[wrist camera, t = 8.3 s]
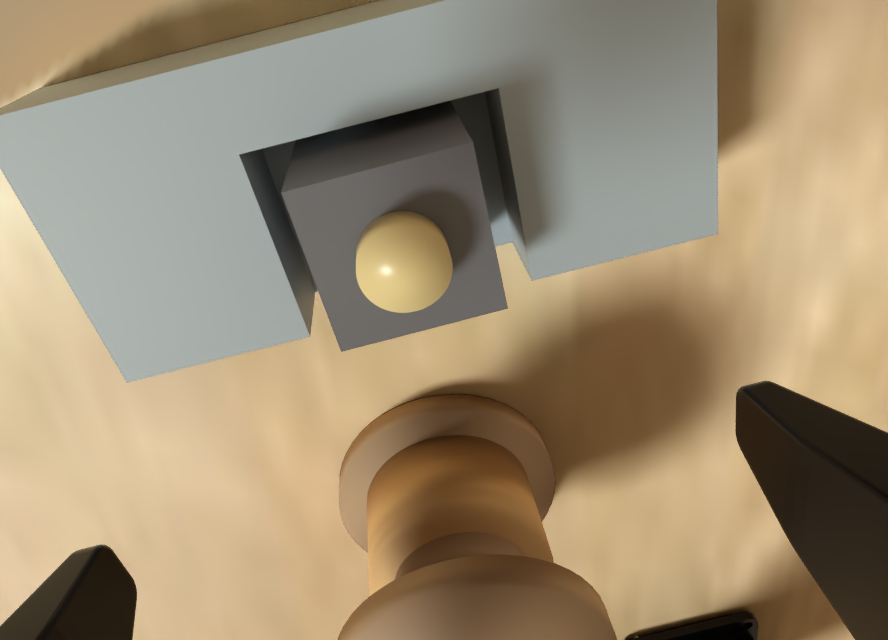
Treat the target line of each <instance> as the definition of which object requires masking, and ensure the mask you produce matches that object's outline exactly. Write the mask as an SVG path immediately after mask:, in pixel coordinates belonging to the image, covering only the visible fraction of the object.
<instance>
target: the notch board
mask: <svg viewBox="0 0 888 640" xmlns="http://www.w3.org/2000/svg"><path fill="white" fill-rule="evenodd" d="M446 101H450V102H451V103H452V105H453V107H454V109H455V111H456V112H457V114H458V116H459V118H460V119H461V121H462V123H463V125H464V127H465V128H466V130H467V132H468V134H469V136H470V137H471V139H472V141H473V144H474V149H475V154H476V159H477V164H478V168H479V173H480V178H481V183H482V187H483V192H484V197H485V202H486V207H487V211H488V216H489V221H490V226H491V230H492V235H493V240H494V245H495V247H496V246H499V245H503V244H507V243H511V242H513V244H514V246H515V248H516V250H517V252H518V254H519V256H520V258H521V260H522V262H523V264H524V266H525V268H526V270H527V272H528V274H529V276H530V278H531V280H532V281H533V280H537V279H541V278H545V277H549V276H553V275H557V274H561V273H564V272H568V271H572V270H576V269H580V268H584V267H588V266H592V265H596V264H600V263H604V262H608V261H612V260H616V259H620V258H624V257H628V256H632V255H636V254H640V253H644V252H648V251H652V250H656V249H660V248H664V247H668V246H672V245H676V244H680V243H684V242H688V241H692V240H696V239H699V238H703V237H707V236H711V235H715V234H718V103H717V0H379V1H375V2H371V3H368V4H364V5H360V6H356V7H352V8H348V9H344V10H340V11H337V12H333V13H329V14H325V15H321V16H317V17H313V18H310V19H306V20H302V21H298V22H294V23H290V24H286V25H282V26H279V27H275V28H271V29H267V30H263V31H259V32H255V33H251V34H248V35H244V36H240V37H236V38H232V39H228V40H224V41H220V42H217V43H213V44H209V45H205V46H201V47H197V48H193V49H189V50H186V51H182V52H178V53H174V54H170V55H166V56H162V57H158V58H155V59H151V60H147V61H143V62H139V63H135V64H131V65H127V66H124V67H120V68H116V69H112V70H108V71H104V72H100V73H96V74H93V75H89V76H85V77H81V78H77V79H73V80H69V81H66V82H62V83H58V84H54V85H50V86H46V87H42V88H39V89H37V90H35V91H33V92H32V93H30V94H28V95H26V96H24V97H22V98H20V99H18V100H16V101H14V102H12V103H10V104H8V105H6V106H4V107H2V108H0V169H1V170H2V172H3V174H4V175H5V177H6V179H7V181H8V182H9V184H10V186H11V187H12V189H13V191H14V192H15V194H16V196H17V197H18V199H19V201H20V203H21V204H22V206H23V208H24V209H25V211H26V213H27V214H28V216H29V218H30V219H31V221H32V223H33V225H34V226H35V228H36V230H37V231H38V233H39V235H40V236H41V238H42V240H43V242H44V243H45V245H46V247H47V248H48V250H49V252H50V253H51V255H52V257H53V258H54V260H55V262H56V264H57V265H58V267H59V269H60V270H61V272H62V274H63V275H64V277H65V279H66V280H67V282H68V284H69V286H70V287H71V289H72V291H73V292H74V294H75V296H76V297H77V299H78V301H79V302H80V304H81V306H82V308H83V309H84V311H85V313H86V314H87V316H88V318H89V319H90V321H91V323H92V325H93V326H94V328H95V330H96V331H97V333H98V335H99V336H100V338H101V340H102V341H103V343H104V345H105V347H106V348H107V350H108V352H109V353H110V355H111V357H112V358H113V360H114V362H115V363H116V365H117V367H118V369H119V370H120V372H121V374H122V375H123V377H124V379H125V380H126V382H127V383H128V382H132V381H136V380H140V379H144V378H148V377H152V376H156V375H160V374H164V373H167V372H171V371H175V370H179V369H183V368H187V367H191V366H195V365H199V364H203V363H207V362H211V361H215V360H219V359H223V358H227V357H231V356H235V355H239V354H243V353H247V352H251V351H255V350H259V349H263V348H267V347H271V346H275V345H279V344H283V343H287V342H291V341H295V340H299V339H302V338H306V337H310V333H311V324H312V315H313V305H314V296H315V292H317V291H318V289H317V286H316V284H315V281H314V278H313V276H312V273H311V270H310V268H309V265H308V262H307V260H306V257H305V254H304V252H303V249H302V247H301V244H300V241H299V239H298V236H297V233H296V231H295V228H294V225H293V223H292V220H291V217H290V215H289V212H288V210H287V207H286V204H285V202H284V199H283V196H282V194H281V191H282V188H283V184H284V181H285V177H286V173H287V170H288V166H289V162H290V159H291V155H292V152H293V148H294V144H295V141H296V140H298V139H302V138H306V137H310V136H314V135H317V134H321V133H325V132H329V131H333V130H337V129H341V128H345V127H349V126H353V125H357V124H360V123H364V122H368V121H372V120H376V119H380V118H384V117H388V116H392V115H396V114H400V113H403V112H407V111H411V110H415V109H419V108H423V107H427V106H431V105H435V104H439V103H443V102H446Z"/></svg>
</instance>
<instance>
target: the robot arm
mask: <svg viewBox="0 0 888 640" xmlns="http://www.w3.org/2000/svg"><path fill="white" fill-rule="evenodd" d="M736 437H737V441H738V444H739V447H740V449H741V451H742V453H743V455H744V457H745V458H746V460H747V462H748V464H749V466H750V468H751V470H752V472H753V474H754V476H755V477H756V479H757V481H758V483H759V485H760V487H761V489H762V491H763V493H764V495H765V496H766V498H767V500H768V502H769V504H770V506H771V508H772V510H773V512H774V514H775V515H776V517H777V519H778V521H779V523H780V525H781V527H782V529H783V531H784V532H785V534H786V536H787V538H788V539H789V541H790V543H791V545H792V546H793V548H794V549H795V551H796V552H797V554H798V556H799V557H800V559H801V560H802V562H803V563H804V565H805V566H806V568H807V569H808V571H809V572H810V574H811V575H812V577H813V578H814V579H815V581H816V582H817V584H818V585H819V587H820V588H821V590H822V591H823V593H824V594H825V596H826V597H827V599H828V600H829V602H830V603H831V605H832V606H833V608H834V609H835V611H836V612H837V613H838V615H839V616H840V618H841V619H842V621H843V622H844V624H845V625H846V627H847V628H848V630H849V631H850V633H851V634H852V636H853V637H854V639H855V640H888V433H887V432H885V431H883V430H880V429H878V428H876V427H874V426H871V425H869V424H867V423H864V422H862V421H860V420H858V419H855V418H853V417H851V416H848V415H846V414H844V413H842V412H839V411H837V410H835V409H833V408H830V407H828V406H826V405H823V404H821V403H819V402H817V401H814V400H812V399H810V398H807V397H805V396H803V395H801V394H798V393H796V392H794V391H791V390H789V389H787V388H785V387H782V386H780V385H778V384H776V383H773V382H770V381H762V382H758V383H754V384H750V385H746V386H743V387H741V388H739V389H738V391H737V395H736ZM136 601H137V590H136V585H135V582H134V580H133V578H132V577H131V575H130V574H129V573H128V571H127V570H126V568H125V567H124V566H123V564H122V563H121V561H120V560H119V559H118V557H117V556H116V554H115V553H114V552H113V550H112V549H111V548H110V547H108V546H106V545H97V546H93V547H89V548H85V549H81V550H78V551H75V552H74V553H72V554H71V555H70V556H69V557H68V558H67V559H66V560H65V561H64V562H63V563H62V564H61V565H60V566H59V567H58V568H57V569H56V570H55V571H54V572H53V573H52V574H51V575H50V576H49V577H48V578H47V579H46V580H45V581H44V582H43V583H42V585H41V586H40V587H39V588H38V589H37V590H36V591H35V592H34V593H33V594H32V595H31V596H30V597H29V598H28V599H27V600H26V601H25V602H24V603H23V604H22V605H21V606H20V607H19V608H18V609H17V610H16V611H15V612H14V613H13V614H12V615H11V616H10V617H9V618H8V619H7V620H6V621H5V622H4V623H3V624H2V625H1V626H0V640H132V637H133V628H134V619H135V610H136ZM757 631H758V622H757V620H756V618H755V616H754V615H753V613H751V612H741V613H737V614H733V615H729V616H725V617H721V618H717V619H713V620H709V621H705V622H700V623H696V624H692V625H688V626H684V627H680V628H676V629H672V630H668V631H664V632H660V633H655V634H651V635H647V636H643V637H639V638H635V639H631V640H757Z"/></svg>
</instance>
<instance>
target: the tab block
mask: <svg viewBox="0 0 888 640" xmlns="http://www.w3.org/2000/svg"><path fill="white" fill-rule="evenodd" d="M281 194H282V196H283V199H284V202H285V204H286V207H287V210H288V212H289V215H290V217H291V220H292V223H293V225H294V228H295V231H296V233H297V236H298V239H299V241H300V244H301V247H302V249H303V252H304V254H305V257H306V260H307V262H308V265H309V268H310V270H311V273H312V276H313V278H314V281H315V284H316V286H317V289H318V291H319V294H320V297H321V299H322V302H323V305H324V307H325V310H326V313H327V315H328V318H329V320H330V323H331V326H332V328H333V331H334V334H335V336H336V339H337V342H338V344H339V347H340V350H341V352H342V351H346V350H350V349H354V348H357V347H361V346H365V345H369V344H373V343H377V342H380V341H384V340H388V339H392V338H396V337H400V336H404V335H407V334H411V333H415V332H419V331H423V330H427V329H430V328H434V327H438V326H442V325H446V324H450V323H454V322H457V321H461V320H465V319H469V318H473V317H477V316H481V315H484V314H488V313H492V312H496V311H500V310H504V309H507V308H508V307H507V302H506V297H505V292H504V288H503V283H502V278H501V273H500V269H499V264H498V259H497V254H496V250H495V245H494V240H493V235H492V230H491V226H490V221H489V216H488V211H487V207H486V202H485V197H484V192H483V187H482V183H481V178H480V173H479V168H478V164H477V159H476V154H475V149H474V144H473V141H472V139H471V137H470V136H469V134H468V132H467V130H466V128H465V127H464V125H463V123H462V121H461V119H460V118H459V116H458V114H457V112H456V111H455V109H454V107H453V105H452V103H451V102H450V101H446V102H443V103H439V104H435V105H431V106H427V107H423V108H419V109H415V110H411V111H407V112H403V113H400V114H396V115H392V116H388V117H384V118H380V119H376V120H372V121H368V122H364V123H360V124H357V125H353V126H349V127H345V128H341V129H337V130H333V131H329V132H325V133H321V134H317V135H314V136H310V137H306V138H302V139H298V140H296V141H295V144H294V148H293V152H292V155H291V159H290V162H289V166H288V170H287V173H286V177H285V181H284V184H283V188H282V191H281Z"/></svg>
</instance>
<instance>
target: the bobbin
mask: <svg viewBox="0 0 888 640" xmlns="http://www.w3.org/2000/svg"><path fill="white" fill-rule="evenodd" d="M554 492H555V474H554V469H553V465H552V462H551V459H550V457H549V454H548V451H547V448H546V446H545V443H544V441H543V439H542V437H541V435H540V433H539V432H538V431H537V429H536V428H535V426H534V425H533V424H532V423H531V422H530V421H529V420H528V419H527V418H526V417H525V416H523V415H522V414H520V413H519V412H518V411H516V410H515V409H513V408H511V407H509V406H507V405H505V404H503V403H500V402H498V401H495V400H492V399H488V398H484V397H480V396H473V395H462V394H448V395H437V396H431V397H426V398H421V399H418V400H414V401H411V402H408V403H405V404H403V405H401V406H398V407H396V408H394V409H392V410H390V411H388V412H387V413H385V414H383V415H381V416H380V417H379V418H377V419H376V420H374V421H373V422H372V423H370V424H369V425H368V426H367V427H366V428H365V429H364V430H363V431H362V432H361V433H360V434H359V435H358V436H357V438H356V439H355V440H354V441H353V443H352V444H351V446H350V448H349V449H348V451H347V453H346V455H345V458H344V460H343V463H342V467H341V471H340V483H339V508H340V515H341V518H342V521H343V524H344V526H345V528H346V530H347V531H348V533H349V535H350V536H351V537H352V538H353V540H354V541H355V542H356V543H357V544H358V545H359V546H360V547H361V548H362V549H363V550H365V551H366V552H368V581H369V594H370V597H369V598H368V599H366V600H365V601H364V602H363V603H362V604H361V605H360V606H359V607H358V608H357V609H356V610H355V611H354V612H353V613H352V615H351V616H350V617H349V619H348V620H347V622H346V623H345V625H344V626H343V628H342V631H341V633H340V635H339V637H338V640H617V638H616V635H615V632H614V630H613V627H612V624H611V622H610V619H609V616H608V613H607V611H606V608H605V605H604V603H603V602H602V600H601V598H600V596H599V594H598V593H597V592H596V591H595V589H594V588H593V587H592V586H591V585H590V584H589V583H588V582H587V581H585V580H584V579H583V578H582V577H580V576H579V575H577V574H576V573H574V572H572V571H571V570H569V569H566V568H564V567H562V566H560V565H557V564H555V563H553V557H552V553H551V550H550V547H549V544H548V541H547V537H546V534H545V531H544V528H543V525H542V521H543V519H544V518H545V516H546V514H547V513H548V510H549V508H550V506H551V503H552V500H553V496H554Z"/></svg>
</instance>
